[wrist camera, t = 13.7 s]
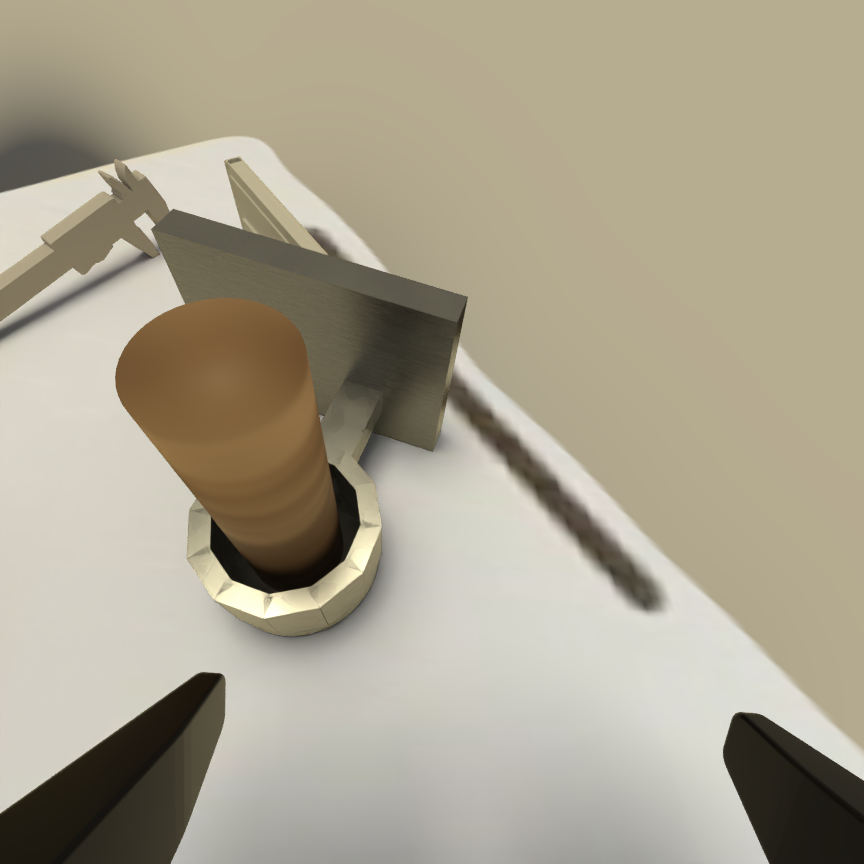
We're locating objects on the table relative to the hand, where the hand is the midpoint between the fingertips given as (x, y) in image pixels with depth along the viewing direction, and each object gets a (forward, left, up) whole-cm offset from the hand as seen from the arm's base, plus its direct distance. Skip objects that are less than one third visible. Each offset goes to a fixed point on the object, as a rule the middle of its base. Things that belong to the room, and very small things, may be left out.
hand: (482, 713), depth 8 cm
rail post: (+5, +8, -12) cm, 15 cm away
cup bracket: (+7, +10, -14) cm, 18 cm away
